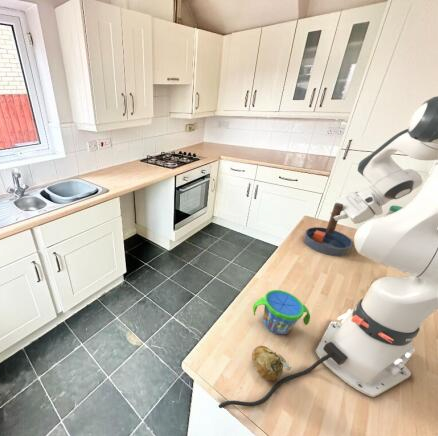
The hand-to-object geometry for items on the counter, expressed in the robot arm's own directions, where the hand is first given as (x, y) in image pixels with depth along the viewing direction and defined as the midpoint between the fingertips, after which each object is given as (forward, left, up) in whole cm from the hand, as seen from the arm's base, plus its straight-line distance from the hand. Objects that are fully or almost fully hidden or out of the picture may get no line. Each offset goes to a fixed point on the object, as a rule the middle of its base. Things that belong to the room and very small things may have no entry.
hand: (332, 216), depth 109 cm
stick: (+1, -1, -8) cm, 8 cm away
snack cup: (-59, -16, -15) cm, 63 cm away
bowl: (0, -1, -14) cm, 15 cm away
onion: (-74, -23, -15) cm, 79 cm away
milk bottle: (+20, -14, -15) cm, 28 cm away
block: (0, +2, -14) cm, 14 cm away
